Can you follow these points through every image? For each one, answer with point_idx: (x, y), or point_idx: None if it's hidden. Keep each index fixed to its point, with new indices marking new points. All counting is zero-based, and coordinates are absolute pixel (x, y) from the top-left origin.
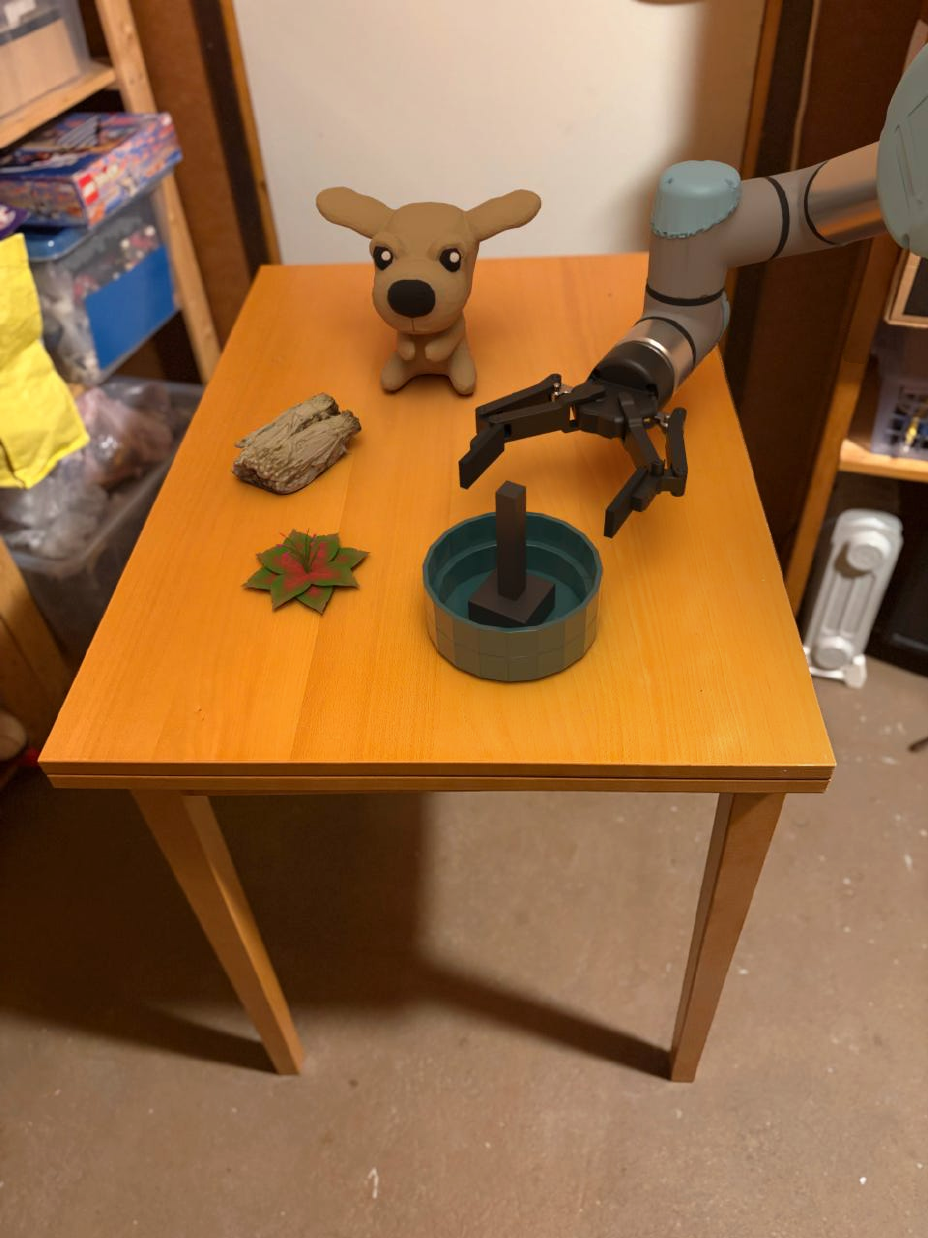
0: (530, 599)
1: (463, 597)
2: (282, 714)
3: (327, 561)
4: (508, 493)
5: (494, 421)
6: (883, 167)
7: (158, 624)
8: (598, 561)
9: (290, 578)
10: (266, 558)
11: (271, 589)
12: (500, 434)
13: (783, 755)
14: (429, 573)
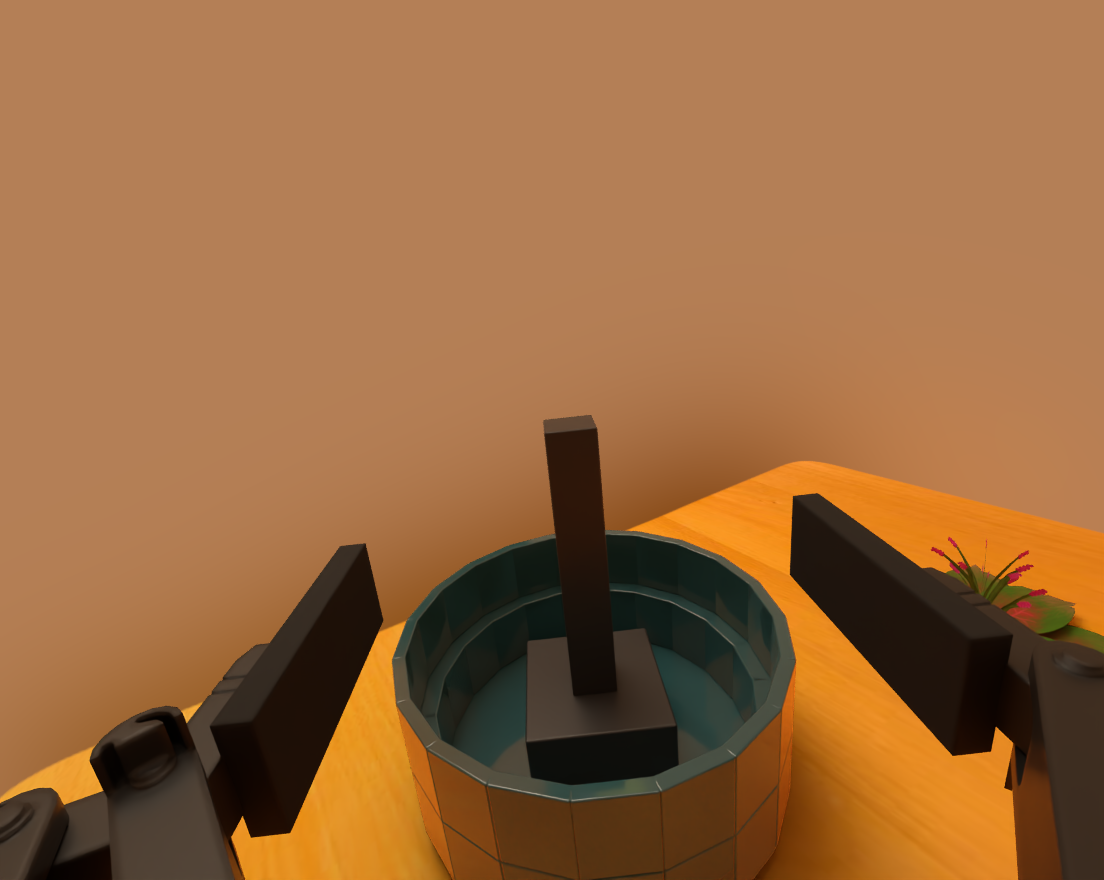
0: (548, 681)
1: (712, 719)
2: (712, 527)
3: None
4: (565, 420)
5: (1048, 649)
6: None
7: (947, 518)
8: (413, 715)
9: None
10: (1044, 602)
11: None
12: (938, 641)
13: (70, 760)
14: (718, 582)
